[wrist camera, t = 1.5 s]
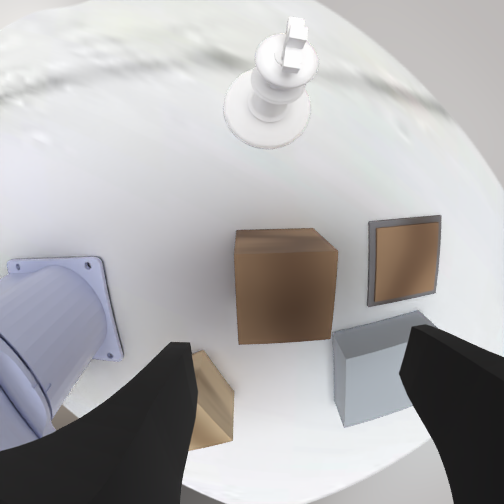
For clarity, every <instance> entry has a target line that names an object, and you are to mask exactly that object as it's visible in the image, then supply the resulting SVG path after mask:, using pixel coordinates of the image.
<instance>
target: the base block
mask: <svg viewBox="0 0 504 504" xmlns="http://www.w3.org/2000/svg"><path fill="white" fill-rule="evenodd" d="M424 324H427V325H430V326H433V327H435V328H437V327H436V326H435V325H434V324H433V323H432V322H431V321H430V320H428V319H427V318H426V317H425V316H424V315H423V314H422V313H421V312H420V311H419V310H417V311H414V312H410V313H407V314H403V315H400V316H396V317H393V318H389V319H386V320H382V321H378V322H374V323H370V324H367V325H363V326H359V327H354V328H350V329H346V330H342V331H337V332H333V355H334V401H335V404H336V406H337V409H338V412H339V415H340V418H341V420H342V423H343V426H344V428H345V427H349V426H353V425H356V424H360V423H363V422H367V421H370V420H373V419H376V418H380V417H383V416H386V415H389V414H392V413H394V412H397V411H400V410H403V409H405V408H408V407H411V406H413V405H412V403H411V401H410V399H409V398H408V396H407V393H406V391H405V389H404V386H403V384H402V381H401V378H400V376H399V371H400V368H401V364H402V361H403V358H404V354H405V350H406V347H407V343H408V339H409V335H410V331H411V327H412V326H418V325H424Z"/></svg>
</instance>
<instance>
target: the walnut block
mask: <svg viewBox="0 0 504 504" xmlns="http://www.w3.org/2000/svg"><path fill="white" fill-rule="evenodd" d="M337 262H338V250H337V249H335V248H334V247H333V246H332V245H331V244H330V243H329V242H328V241H327V240H326V239H324V238H323V237H322V236H321V235H320V234H319V233H318V232H317V231H315V230H314V229H313V228H301V229H260V230H237V231H236V241H235V250H234V265H235V286H236V306H237V325H238V343H239V345H242V344H268V343H286V342H301V341H314V340H325V339H330V338H331V330H332V321H333V311H334V300H335V289H336V277H337Z"/></svg>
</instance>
